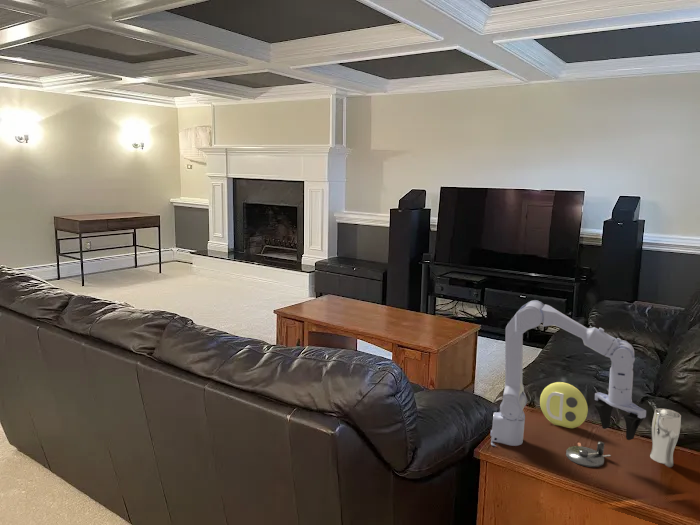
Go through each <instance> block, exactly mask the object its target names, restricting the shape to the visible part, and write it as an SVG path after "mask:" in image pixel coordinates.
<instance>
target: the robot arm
mask: <svg viewBox="0 0 700 525" xmlns="http://www.w3.org/2000/svg"><path fill="white" fill-rule="evenodd" d="M541 324H542V327H551V326H556V327H557V328H560V329H562V330H564V331H565V332H568V333H570V334H572V335H573V336H575V337H578V338H580V339H581V340H582V342H583V345H584V346H585V347H587V348H589V349H591V350H593V351H594V352H596V353H598V354H600V355H602V356H604V357H605V358H609V359H610V362H611V363H610V364H611V366H610V368H609V383H608V394H606V393H603V392H601V391H600V392H595V393H594V400H595V401H597V402H595V403H594V408H595V409H596V411H597V413H598V415H599V418H600V424H601V429H603V430H606V429H609V428H610V427H611V426H610V425H611V416H612V411H613V408H616V409H620V410H622V411H624V412H627V413H628V414H625V415H624V416H623V417H624V422H625V428H626V429H625V438H626V440H628V441H631V440H634V438H635V435H636V433H637V430H638V428H639V426H640V425H641V424H642V422H643V421H644V420H645V418H647V410H646V409H644V408H642V407H640V406H638V405H637V404H636V403H634V402H633V400H632V398H633V395H632V394H633V383H634V382H633V381H634V370H633V369H634V364H635V360H636V358H635V349H634V347H633V345H632V344H631V343H630V342H628V341H627V340H623V339H621V338H620V337H617V338H616V337H614V336H612V335H610V334H608V333H607V332H605V329H604V328H602V327H599V328H597V327H595V326H593V327H586V326H584V325H583V324H581V323H580V322H578V321H576V320H574V319H572V318H571V317H569V316H567V315H566V314H564V313H562V312H561V311H559V310H557V309H556V308H554V307H553V306H551V305H549V304H544V303H543V302H542V301H539V300H536V299H534V300H530V301H528V302H527V303H525V304H523V305H522V306H521V307H520V308H519V309H518V310H517V311H516V313H515V314H514V316H512V317H511V319H510V320H509V321H508V322H507V325H506V326H505V341H504V342H505V345H504V346H505V347H504V348H505V352H504V354H505V364H504V367H505V368H504V369H505V373H504V374H505V378H504V379H505V380H504V381H505V382H504V383H505V384H504V389H503V394H502V396H503V397H502V401H501V403H500V405H499V411H498V412H497V411H496V412H493V416H492V427H491V429H490V445H491V446H492V447H497V445H496V444H495V443H499V444H503V445H507V446H510V447H511V446H513V447H514V446H515V447H517V446H520V445H522V444H523V441H524V432H525V424H526V423H525V420H526V414H525V412H524V408H525V407H526V406H527V403H528V398H527V396H526V393H525V391H524V389H525V387H524V384H523V368H524V367H523V365H524V364H523V356H524V355H523V352H524V349H523V347H524V346H523V345H524V343H523V342H524V340H523V339H524V333H526V332H527V331H529V330H531V329H535V328H537V327H539V326H540V325H541Z"/></svg>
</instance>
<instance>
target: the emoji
mask: <svg viewBox="0 0 700 525" xmlns="http://www.w3.org/2000/svg"><path fill="white" fill-rule="evenodd" d="M539 406H540V409H541V411H542V414H543V416H544V417H545V418H546V419H547V420H548V421H549V422H550V423H551V424H553V425H554V426H560V427H564V428H567V429H575V428H577V427H580V426H581V425H583V423H584V422H585V421H586V419H587V418H588V417H587V416H588V412H589V411H588V410H589V408H588V407H589V406H588V403H587V400H586V397H585V396H584V394H583V393H582V392H581V391H580V390H579V389H578V388H577V387H575V386H574V385H573V384H570V383H568V382H562V381H556V382H552V383H550V384H548V385H547V386H545V387H544V389H542V391H541V394H540V397H539Z"/></svg>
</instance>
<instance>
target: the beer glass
mask: <svg viewBox="0 0 700 525" xmlns="http://www.w3.org/2000/svg"><path fill="white" fill-rule="evenodd" d="M681 421H682V415H681V414H680V413H679V412H678V411H675V410H673V409H667V408H655V409H654V413H653V418H652V422H651V442H652V443H651V444H652V446H651V452H650V454H649V457H650V459H651V460H653V461H655V462H657V463H658V464H659V463H660V464H663V465H665V466H666V467H667V468H672V467H673V466H674V452H675V448H676V445H677V443H678V440H679V436H680V432H681V425H682V422H681Z"/></svg>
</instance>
